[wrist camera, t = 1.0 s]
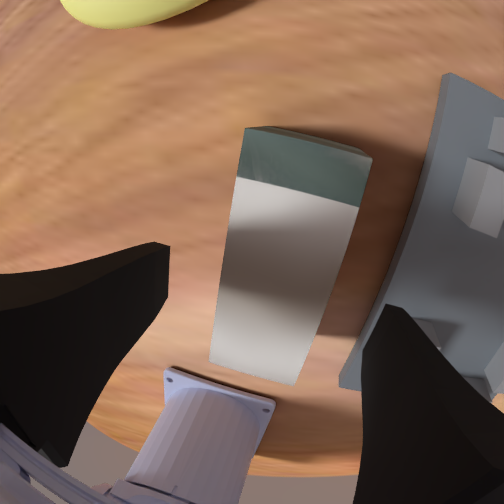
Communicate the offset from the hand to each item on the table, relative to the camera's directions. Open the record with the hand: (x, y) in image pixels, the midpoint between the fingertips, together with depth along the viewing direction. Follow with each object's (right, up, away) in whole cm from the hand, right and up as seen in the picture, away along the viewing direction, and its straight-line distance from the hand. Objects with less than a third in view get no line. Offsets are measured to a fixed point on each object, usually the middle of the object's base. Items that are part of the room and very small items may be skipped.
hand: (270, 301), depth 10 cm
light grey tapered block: (+1, +2, +5) cm, 5 cm away
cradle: (+12, 0, +3) cm, 12 cm away
